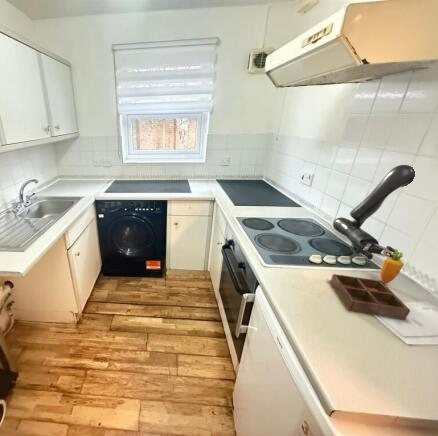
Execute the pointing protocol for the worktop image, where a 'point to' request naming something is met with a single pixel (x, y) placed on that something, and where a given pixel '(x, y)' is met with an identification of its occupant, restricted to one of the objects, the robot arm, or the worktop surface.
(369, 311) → the grid
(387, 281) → the carrot
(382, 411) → the worktop surface
